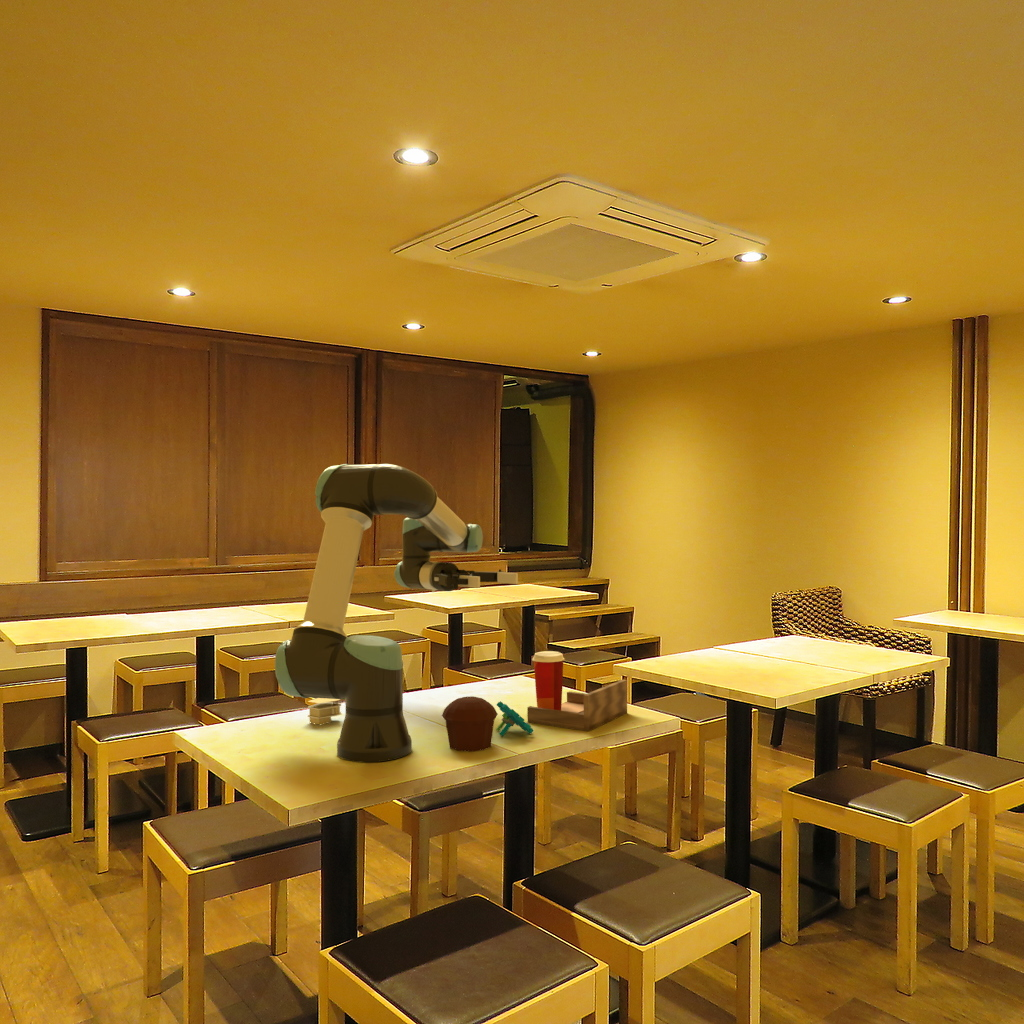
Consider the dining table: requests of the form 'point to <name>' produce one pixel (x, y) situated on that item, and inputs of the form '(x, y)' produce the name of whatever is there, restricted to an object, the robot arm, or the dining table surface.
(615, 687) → the bay
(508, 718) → the teal toy figurine
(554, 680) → the paper cup
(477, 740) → the muffin
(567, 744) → the dining table surface
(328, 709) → the tan layered block
